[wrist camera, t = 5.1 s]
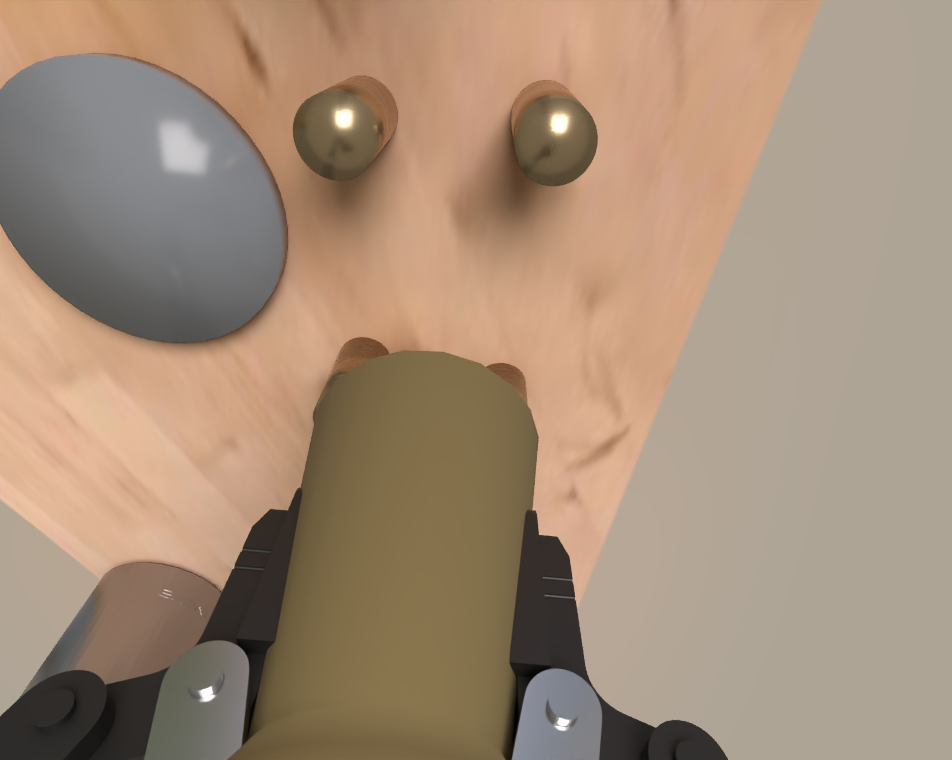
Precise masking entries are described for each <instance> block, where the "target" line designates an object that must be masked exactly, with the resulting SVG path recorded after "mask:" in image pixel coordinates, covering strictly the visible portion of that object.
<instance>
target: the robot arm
mask: <svg viewBox="0 0 952 760" xmlns="http://www.w3.org/2000/svg"><path fill="white" fill-rule="evenodd" d="M301 498H302V488H298V489H297V491H296V493H295V495H294V497H293V500H292V502H291V505H290V507H289V510H288V511H285V510H274V509H270V510H269V511H268V512H267V513H266V514H265V515H264V516H263V517H262V518H261V519H260V520H259V521H258V522H257V523H256V524H255V525H254V526H253V527H252V529H251V531H250V533H249V535H248V537H247V539H246V542H245V544H244V546H243V550H242V552H240V554H239V557H238V559H237V561H236V563H235V567H234V569H232V572H231V574H230V576H229V578H228V580H227V582H226V585H225V587H224V589H223V591H222V593H220V592H219V591H218V590H217V589H216V588H215V587H214V586H213V585H211V584H210V583H208V582H207V581H206V580H204V579H202V578H200V577H198V576H196V575H194V574H192V573H190V572H187V571H185V570H182V569H179V568H176V567H172V566H167V565H163V564H155V563H131V564H126V565H121V566H119V567H116V568H113V569H112V570H110V571H109V572H107V573H106V574H105V575H104V576H103V578H102V579H101V581H100V582H99V584H98V585H97V587H96V588H95V589H94V591H93V592H92V594H91V596H90V597H89V598H88V600H87V601H86V602H85V604H84V605H83V607H82V608H81V610H80V611H79V613H78V614H77V615H76V617H75V618H74V620H73V621H72V623H71V624H70V625H69V627H68V628H67V629H66V631H65V632H64V634H63V635H62V637H61V638H60V640H59V641H58V642H57V644H56V645H55V647H54V648H53V650H52V651H51V653H50V654H49V656H48V657H47V658H46V660H45V661H44V663H43V664H42V666H41V667H40V669H39V670H38V672H37V673H36V675H35V676H34V677H33V679H32V680H31V682H30V683H29V685H28V686H27V688H26V689H25V690H24V692H23V694H22V695H21V696H20V698H19V699H18V700H17V701H16V702H15V703H14V704H13V705H12V706H11V707H10V708H9V709H8V710H7V711H6V712H4V713H3V714H2V715H1V716H0V760H227V759H228V758H229V757H230V756H232V755H233V754H234V753H235V752H236V751H237V750H238V749H239V748H240V747H242V746H243V745H244V744H245V743H246V742H247V738H248V733H249V729H250V725H251V720H252V716H253V712H254V707H255V703H256V699H257V694H258V690H259V685H260V681H261V676H262V671H263V666H264V662H265V657H266V653H267V649H268V648H269V647H270V646H271V645H272V644H273V643H274V642H275V641H276V635H277V630H278V624H279V619H280V613H281V608H282V602H283V597H284V591H285V586H286V581H287V575H288V570H289V564H290V559H291V553H292V548H293V542H294V537H295V531H296V526H297V520H298V515H299V509H300V504H301ZM510 666H511V668H512V670H513V672H514V674H515V677H516V679H517V680H516V705H515V717H514V729H513V740H512V752H511V758H510V760H728V758H727V757H726V755H725V754H724V752H723V750H722V749H721V748H720V746H719V745H718V744H717V742H716V741H715V740H714V739H713V738H712V737H711V736H710V735H709V734H708V733H707V732H705V731H704V730H702V729H701V728H699V727H698V726H696V725H694V724H692V723H689V722H686V721H680V720H671V721H666V722H664V723H662V724H660V725H659V726H658V727H657V728H655V727H653V726H650V725H648V724H646V723H643V722H641V721H639V720H637V719H634V718H632V717H630V716H628V715H625V714H623V713H621V712H619V711H617V710H615V709H614V708H613V707H611V706H610V705H609V704H608V703H606V702H605V701H604V700H603V699H602V698H601V697H600V696H599V694H598V693H597V692H596V690H595V689H594V687H593V686H592V684H591V682H590V680H589V677H588V675H587V671H586V667H585V660H584V654H583V647H582V640H581V634H580V627H579V620H578V613H577V606H576V601H575V592H574V585H573V582H572V572H571V565H570V558H569V555H568V554H567V552H566V550H565V549H564V547H563V545H562V544H561V542H560V540H559V539H558V537H554V536H544V535H539V531H538V521H537V513H536V511H533V510H527V511H526V514H525V522H524V530H523V539H522V548H521V557H520V566H519V575H518V584H517V593H516V602H515V611H514V619H513V628H512V637H511V646H510Z"/></svg>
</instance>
